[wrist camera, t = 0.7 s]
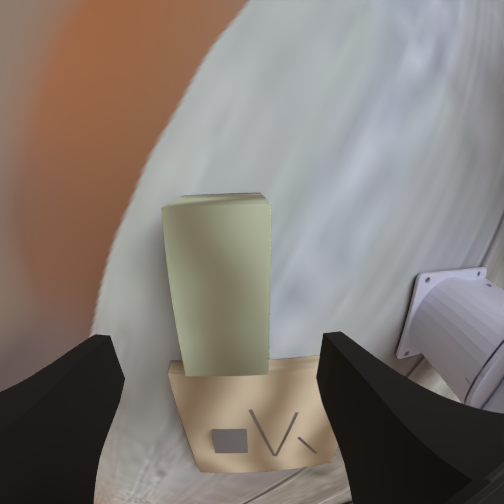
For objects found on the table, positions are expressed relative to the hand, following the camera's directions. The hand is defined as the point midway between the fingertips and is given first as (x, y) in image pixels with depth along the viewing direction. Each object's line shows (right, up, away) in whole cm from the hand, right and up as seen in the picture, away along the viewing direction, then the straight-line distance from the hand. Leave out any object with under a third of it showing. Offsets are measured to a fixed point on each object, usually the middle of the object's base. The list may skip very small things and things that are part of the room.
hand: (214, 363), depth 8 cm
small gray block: (-1, -13, +12) cm, 18 cm away
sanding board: (+3, -12, +13) cm, 19 cm away
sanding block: (-1, +3, +9) cm, 9 cm away
